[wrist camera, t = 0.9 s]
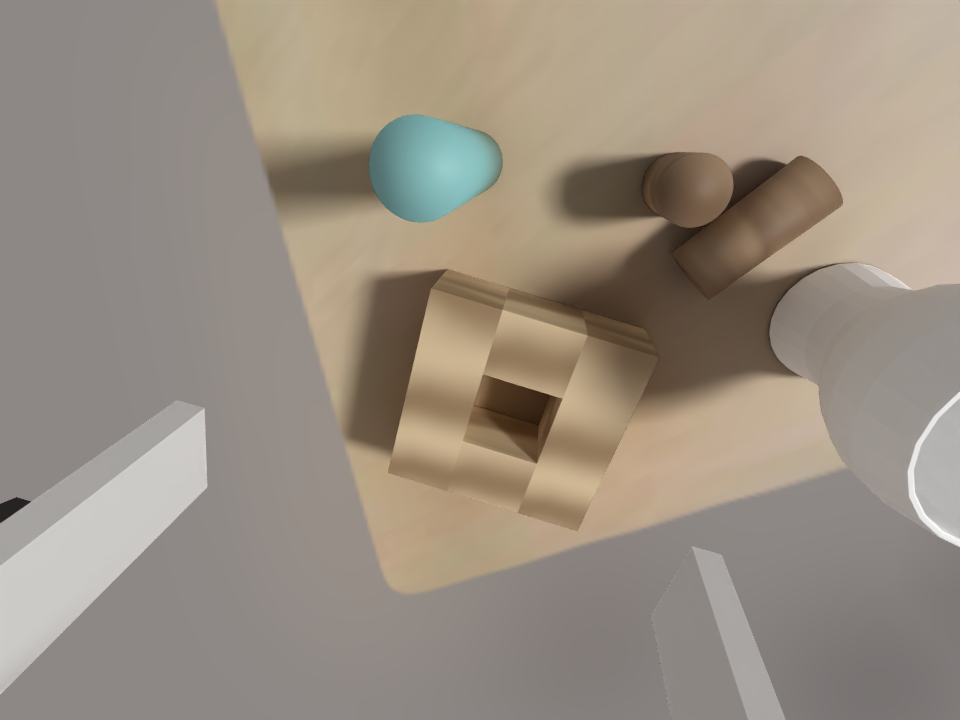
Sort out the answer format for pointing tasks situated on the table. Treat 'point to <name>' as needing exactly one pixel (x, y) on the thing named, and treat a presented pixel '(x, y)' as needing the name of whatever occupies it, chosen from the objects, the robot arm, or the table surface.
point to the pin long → (431, 166)
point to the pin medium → (759, 225)
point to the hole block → (529, 363)
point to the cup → (883, 382)
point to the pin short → (688, 188)
